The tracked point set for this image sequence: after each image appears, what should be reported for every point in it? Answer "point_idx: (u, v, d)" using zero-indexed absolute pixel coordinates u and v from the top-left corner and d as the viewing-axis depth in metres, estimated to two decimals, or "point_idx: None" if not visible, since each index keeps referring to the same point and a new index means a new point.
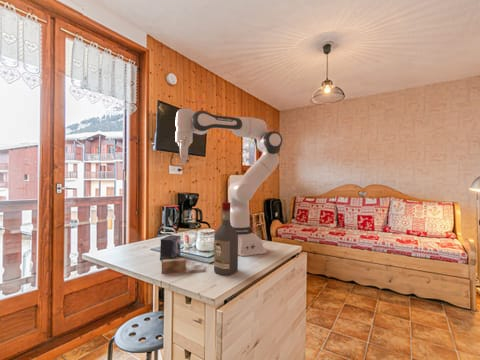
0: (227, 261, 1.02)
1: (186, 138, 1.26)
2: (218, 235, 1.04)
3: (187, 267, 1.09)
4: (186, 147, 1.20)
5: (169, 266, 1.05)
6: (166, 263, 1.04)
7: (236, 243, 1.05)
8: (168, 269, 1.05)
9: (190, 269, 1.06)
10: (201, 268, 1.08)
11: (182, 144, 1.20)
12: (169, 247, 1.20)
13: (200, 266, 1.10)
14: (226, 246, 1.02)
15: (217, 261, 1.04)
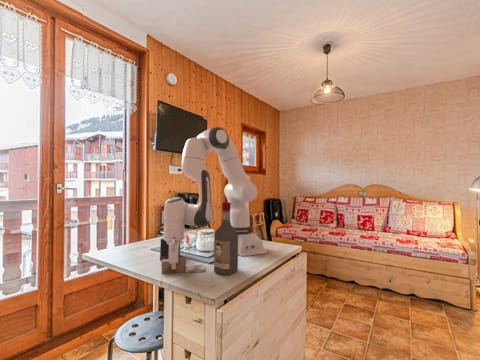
0: (227, 261, 1.02)
1: (176, 237, 1.03)
2: (218, 235, 1.04)
3: (187, 267, 1.09)
4: (176, 254, 0.97)
5: (169, 266, 1.05)
6: (166, 263, 1.04)
7: (236, 243, 1.05)
8: (168, 269, 1.05)
9: (190, 269, 1.06)
10: (201, 268, 1.08)
11: (171, 250, 0.97)
12: None
13: (200, 266, 1.10)
14: (226, 246, 1.02)
15: (217, 261, 1.04)
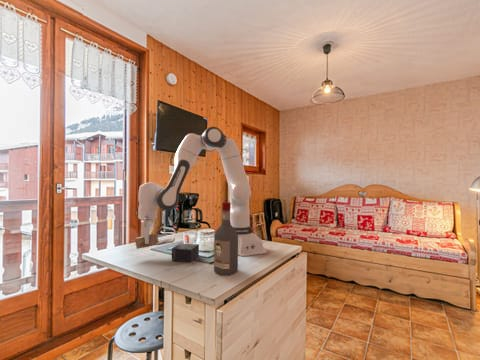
0: (227, 261, 1.02)
1: (149, 216, 1.19)
2: (218, 235, 1.04)
3: (159, 241, 1.24)
4: (147, 229, 1.14)
5: (142, 242, 1.21)
6: (139, 239, 1.21)
7: (236, 243, 1.05)
8: (142, 244, 1.21)
9: (160, 242, 1.21)
10: (170, 240, 1.22)
11: (143, 226, 1.13)
12: (184, 259, 1.19)
13: (171, 239, 1.25)
14: (226, 246, 1.02)
15: (217, 261, 1.04)
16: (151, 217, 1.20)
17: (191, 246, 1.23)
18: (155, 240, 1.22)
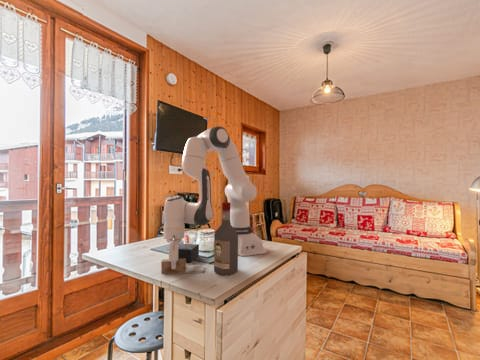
0: (227, 261, 1.02)
1: (176, 235, 1.03)
2: (218, 235, 1.04)
3: (187, 267, 1.08)
4: (176, 252, 0.97)
5: (168, 266, 1.05)
6: (166, 263, 1.05)
7: (236, 243, 1.05)
8: (168, 269, 1.05)
9: (189, 270, 1.06)
10: (201, 269, 1.07)
11: (171, 249, 0.97)
12: None
13: (200, 267, 1.09)
14: (226, 246, 1.02)
15: (217, 261, 1.04)
16: (179, 237, 1.03)
17: (191, 246, 1.23)
18: (184, 266, 1.06)
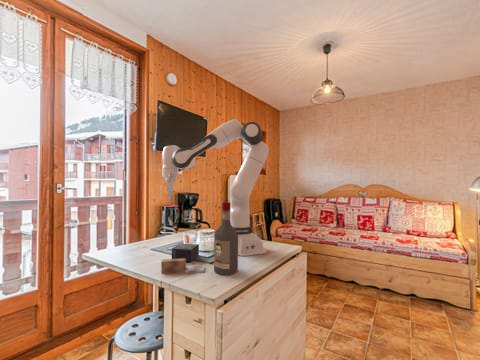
0: (227, 261, 1.02)
1: (172, 174, 1.34)
2: (218, 235, 1.04)
3: (187, 267, 1.08)
4: (171, 184, 1.29)
5: (168, 266, 1.05)
6: (166, 263, 1.05)
7: (236, 243, 1.05)
8: (168, 269, 1.05)
9: (189, 270, 1.06)
10: (201, 269, 1.07)
11: (167, 181, 1.28)
12: None
13: (200, 267, 1.09)
14: (226, 246, 1.02)
15: (217, 261, 1.04)
16: (174, 175, 1.35)
17: (191, 246, 1.23)
18: (184, 266, 1.06)
